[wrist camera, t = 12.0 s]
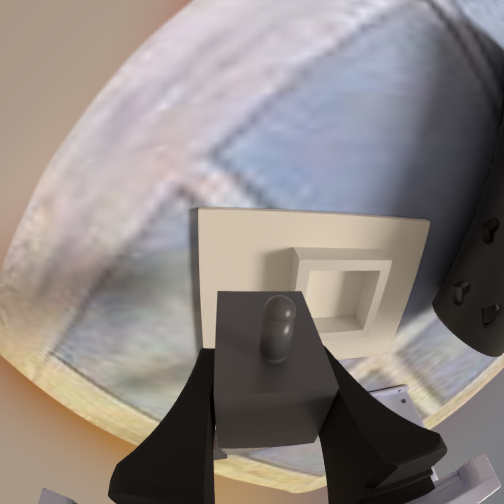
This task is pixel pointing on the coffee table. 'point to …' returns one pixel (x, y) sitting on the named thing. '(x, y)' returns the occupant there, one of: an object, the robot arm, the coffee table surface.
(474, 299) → the muzzle brake
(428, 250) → the coffee table surface
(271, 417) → the plug
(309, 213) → the socket base
